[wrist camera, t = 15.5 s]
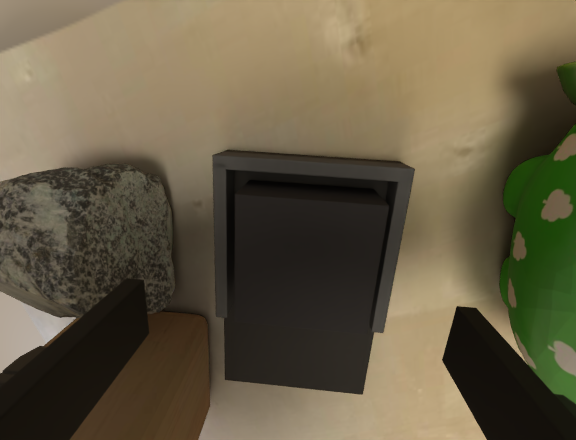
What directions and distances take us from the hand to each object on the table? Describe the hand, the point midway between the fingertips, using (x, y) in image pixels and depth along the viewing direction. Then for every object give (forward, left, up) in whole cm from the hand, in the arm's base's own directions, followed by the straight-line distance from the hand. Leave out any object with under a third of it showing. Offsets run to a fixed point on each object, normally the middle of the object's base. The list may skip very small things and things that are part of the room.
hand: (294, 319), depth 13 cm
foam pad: (0, 0, -8) cm, 8 cm away
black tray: (0, -4, -9) cm, 10 cm away
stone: (-13, 0, -9) cm, 16 cm away
